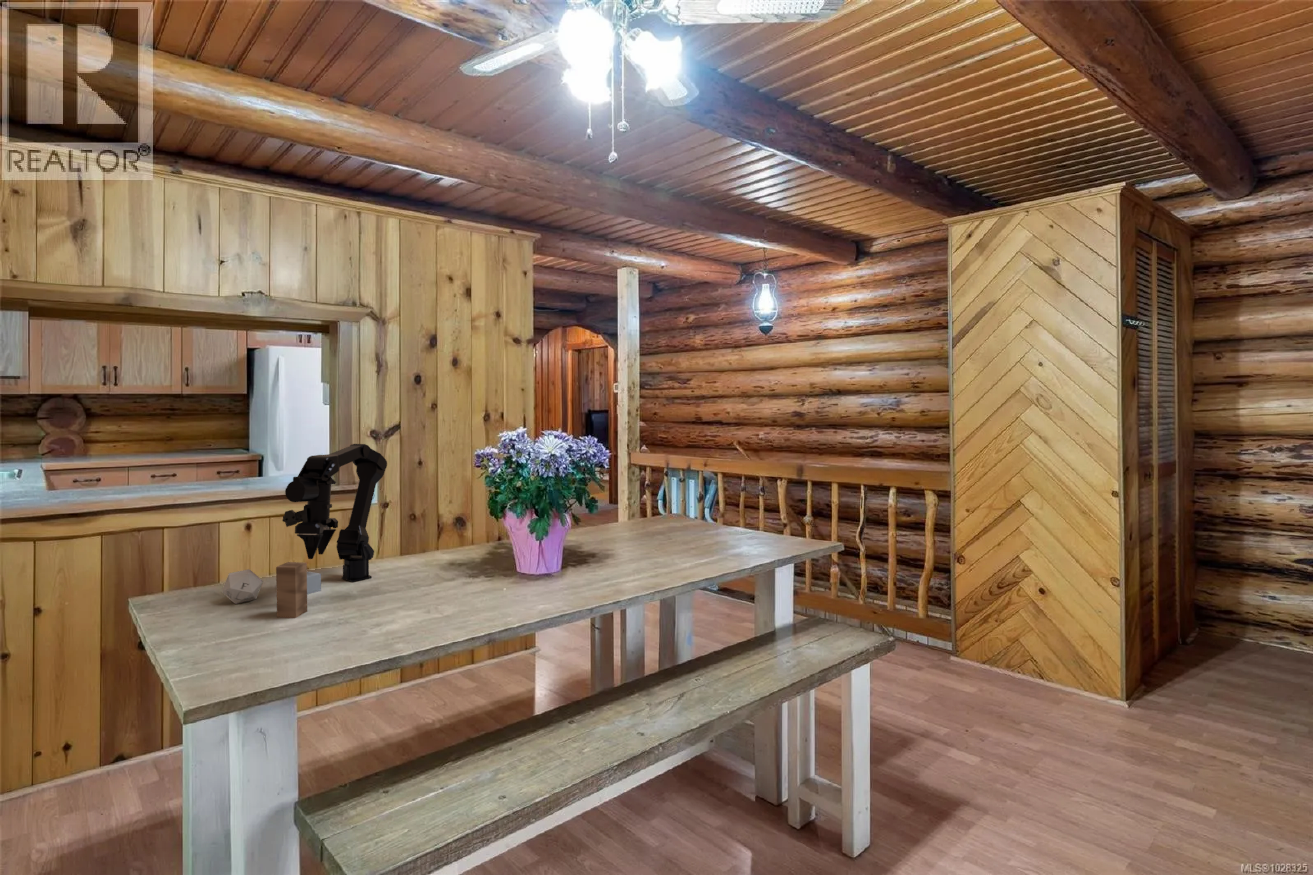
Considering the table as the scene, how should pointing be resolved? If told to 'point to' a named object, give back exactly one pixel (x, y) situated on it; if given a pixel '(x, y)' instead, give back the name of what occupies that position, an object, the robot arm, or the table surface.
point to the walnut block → (291, 589)
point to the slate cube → (313, 582)
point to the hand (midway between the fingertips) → (315, 556)
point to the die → (242, 586)
